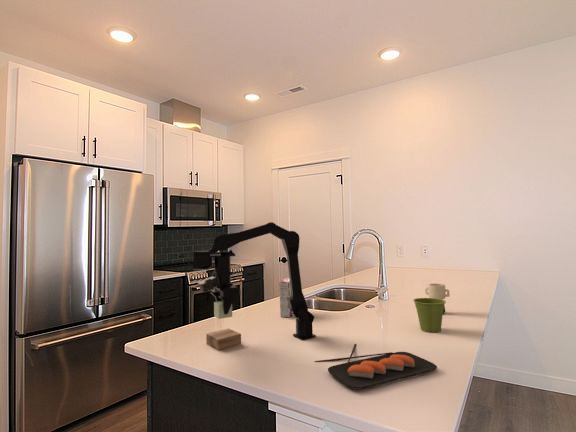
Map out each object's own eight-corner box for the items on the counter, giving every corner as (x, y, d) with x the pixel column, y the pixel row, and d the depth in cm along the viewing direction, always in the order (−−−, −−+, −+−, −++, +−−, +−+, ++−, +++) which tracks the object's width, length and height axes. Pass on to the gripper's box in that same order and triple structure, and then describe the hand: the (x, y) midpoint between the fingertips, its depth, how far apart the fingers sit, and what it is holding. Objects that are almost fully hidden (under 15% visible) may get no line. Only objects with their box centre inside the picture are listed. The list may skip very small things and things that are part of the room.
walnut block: (241, 345, 119) (240, 333, 119) (218, 351, 113) (217, 339, 114) (228, 339, 126) (228, 328, 126) (206, 344, 120) (206, 333, 121)
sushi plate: (353, 397, 80) (353, 381, 81) (299, 355, 108) (299, 343, 108) (442, 374, 92) (442, 359, 92) (373, 341, 120) (373, 330, 120)
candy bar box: (284, 311, 165) (283, 278, 166) (294, 311, 164) (293, 278, 165) (279, 317, 154) (278, 281, 155) (290, 317, 153) (289, 281, 154)
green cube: (232, 316, 120) (232, 302, 120) (218, 318, 117) (218, 304, 117) (227, 313, 124) (227, 300, 124) (214, 315, 121) (213, 301, 121)
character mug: (453, 313, 154) (451, 284, 154) (447, 316, 149) (446, 286, 149) (429, 309, 161) (427, 282, 162) (423, 312, 156) (421, 284, 157)
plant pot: (451, 329, 130) (450, 299, 131) (441, 336, 122) (439, 305, 122) (421, 323, 138) (420, 296, 139) (409, 330, 130) (407, 301, 130)
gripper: (193, 268, 125) (193, 311, 124) (208, 273, 109) (209, 322, 108) (221, 266, 131) (222, 306, 130) (240, 270, 115) (241, 316, 114)
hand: (223, 312), depth 120 cm, fingers closed on green cube, 5 cm apart
